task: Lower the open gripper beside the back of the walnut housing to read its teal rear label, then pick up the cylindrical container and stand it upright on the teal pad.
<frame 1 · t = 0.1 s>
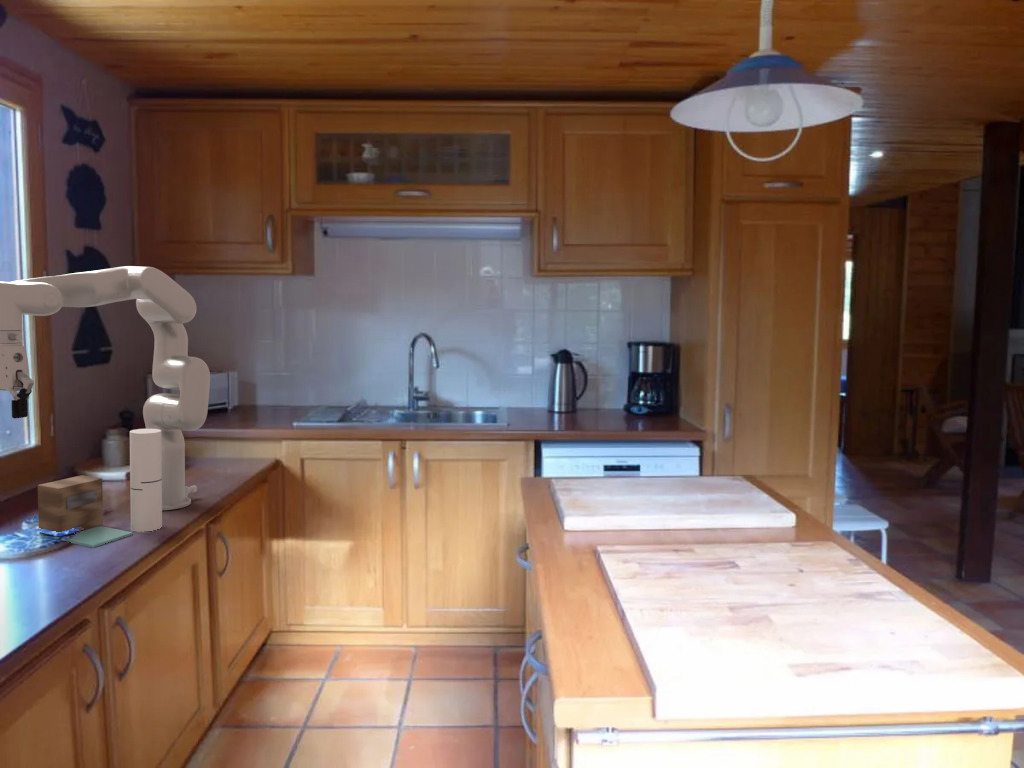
hand: (4, 415, 163), 31 cm above the counter, tool pointing down, fingers open, 9 cm apart
cylindrical container: (146, 528, 187), on the counter
walnut housing: (71, 528, 184), on the counter
teal pad: (96, 537, 179), on the counter
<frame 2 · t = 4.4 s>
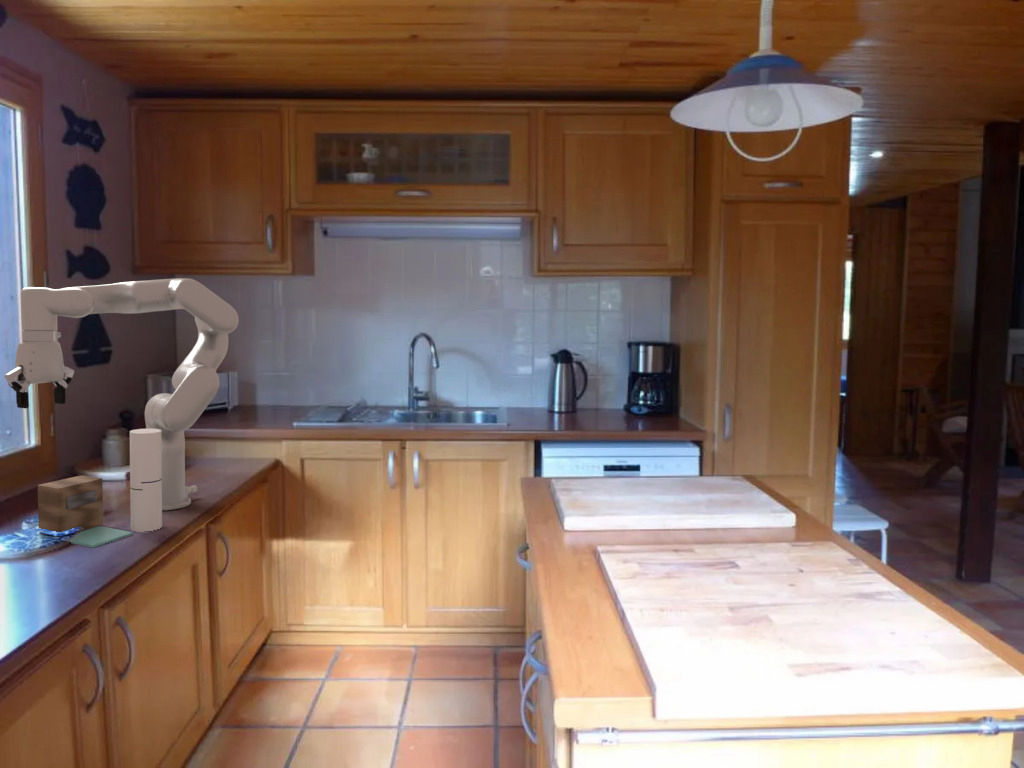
hand: (41, 405, 185), 30 cm above the counter, tool pointing down, fingers open, 9 cm apart
nothing on the counter moved.
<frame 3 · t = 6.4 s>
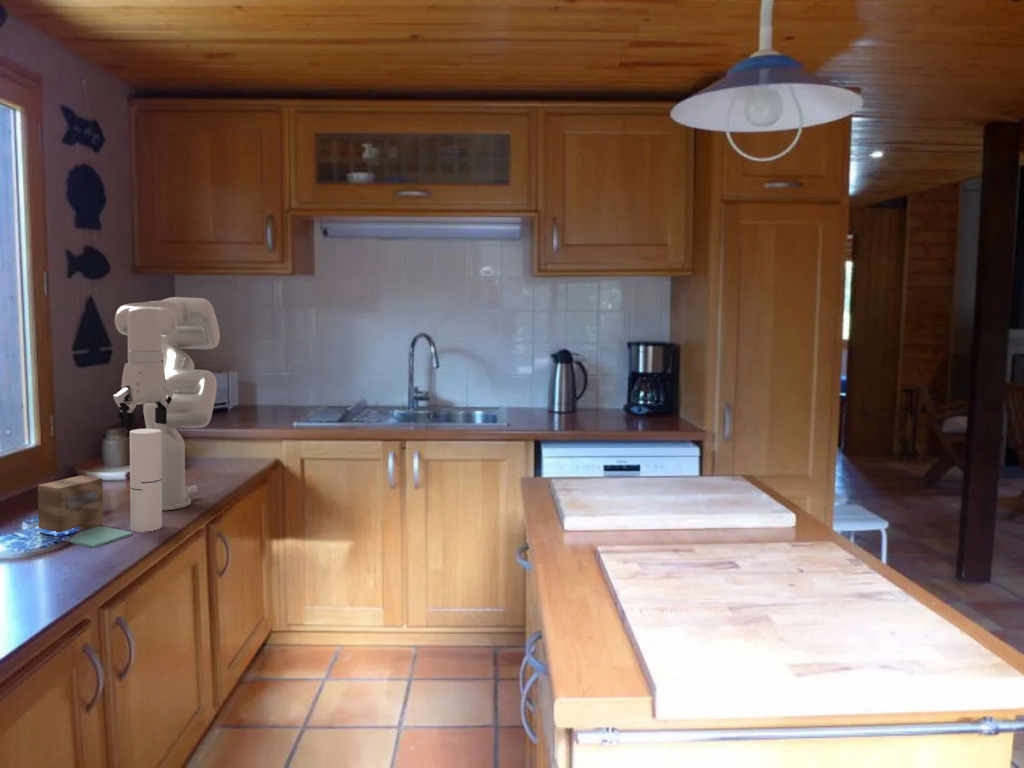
hand: (145, 425, 184), 26 cm above the counter, tool pointing down, fingers open, 9 cm apart
nothing on the counter moved.
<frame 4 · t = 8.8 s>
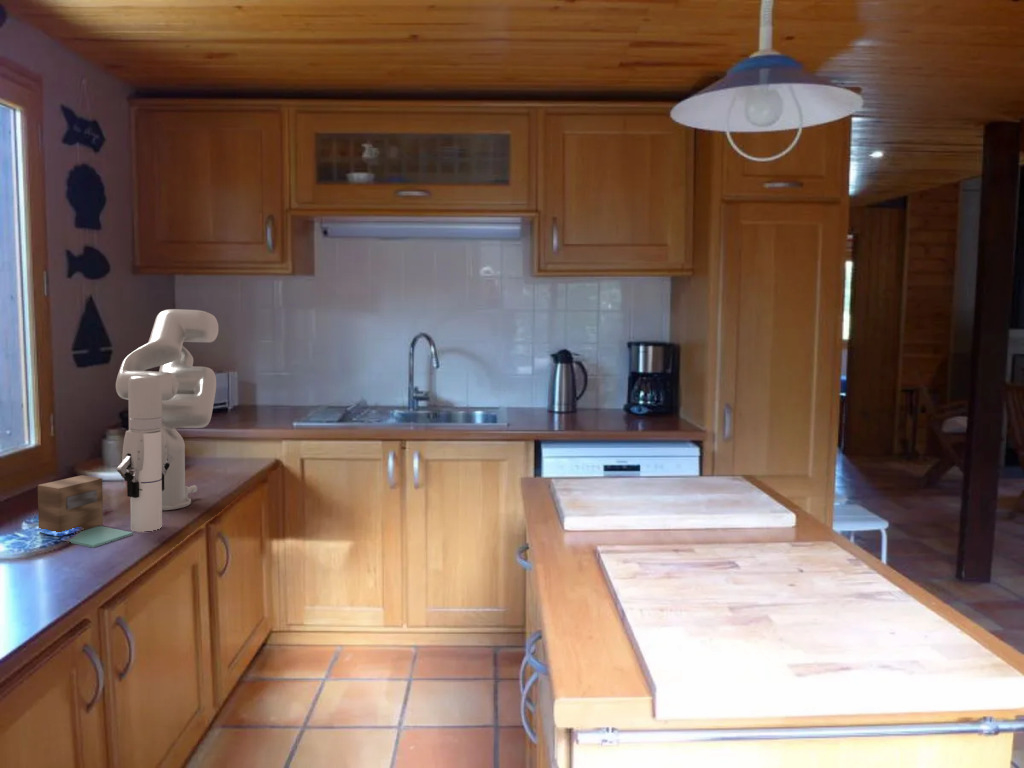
hand: (146, 492, 186), 9 cm above the counter, tool pointing down, fingers closed on cylindrical container, 7 cm apart
cylindrical container: (146, 528, 187), on the counter, touching gripper
everything else where it was.
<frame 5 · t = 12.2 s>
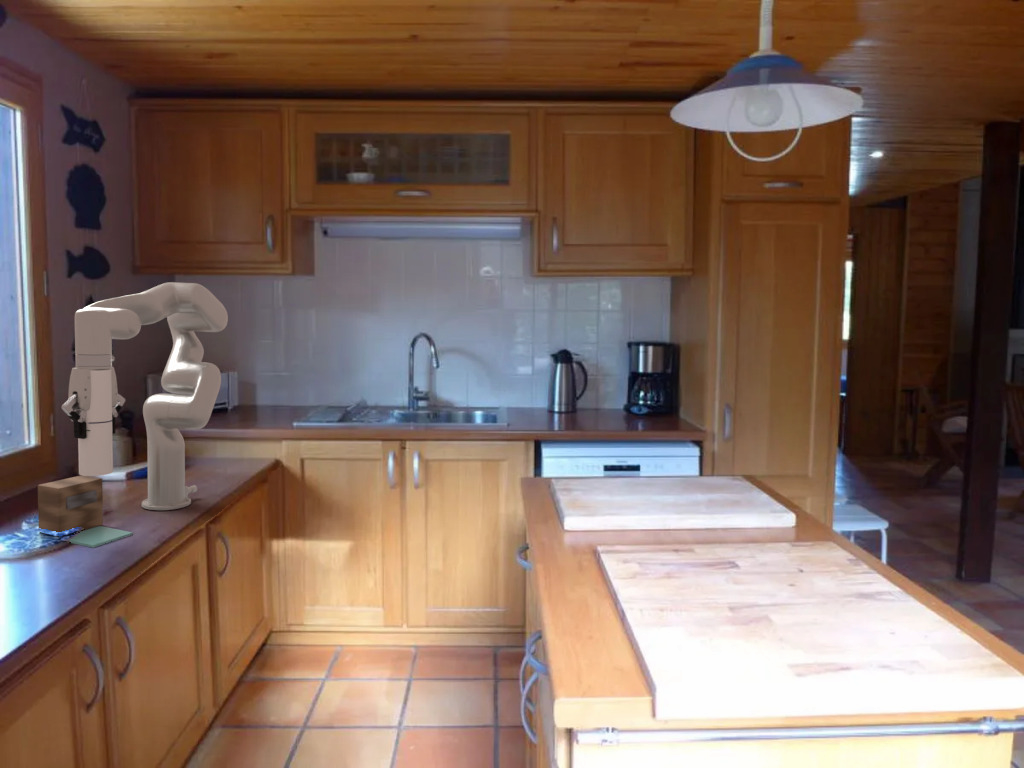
hand: (95, 435, 176), 25 cm above the counter, tool pointing down, fingers closed on cylindrical container, 7 cm apart
cylindrical container: (96, 473, 177), point 16 cm above the counter, touching gripper
everything else where it was.
when the fingers open (11 cm above the counter, at t = 16.0 s): cylindrical container stays where it is, resting on teal pad.
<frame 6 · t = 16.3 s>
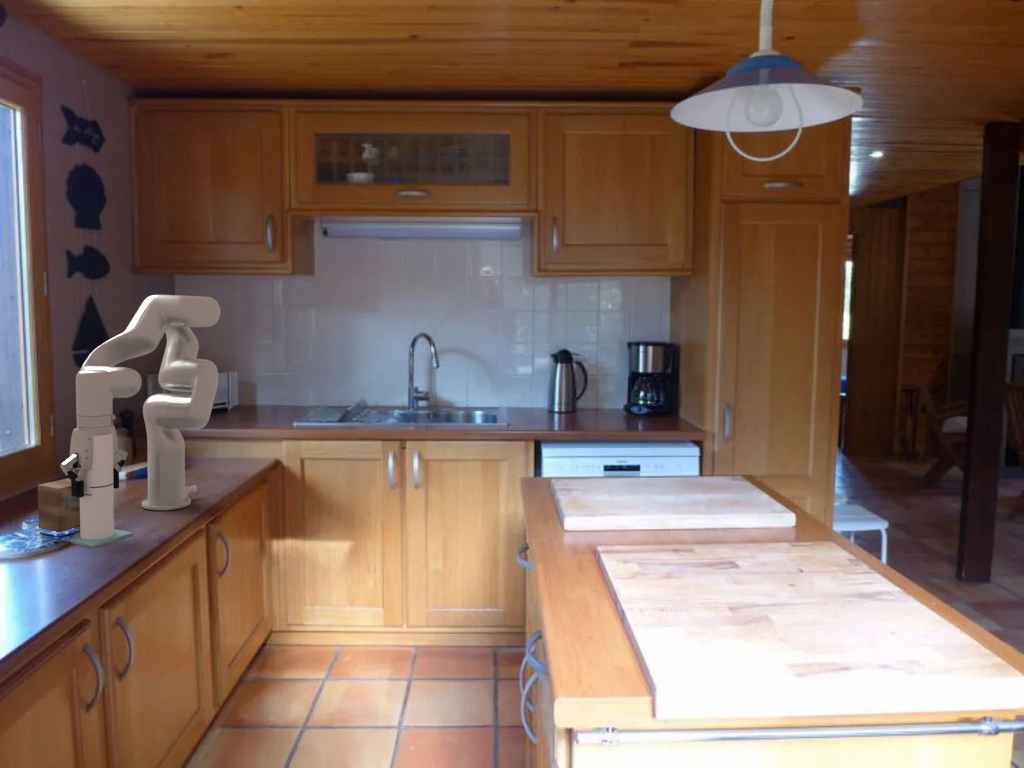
hand: (96, 492, 177), 11 cm above the counter, tool pointing down, fingers open, 9 cm apart
cylindrical container: (97, 535, 179), resting on teal pad
everything else where it was.
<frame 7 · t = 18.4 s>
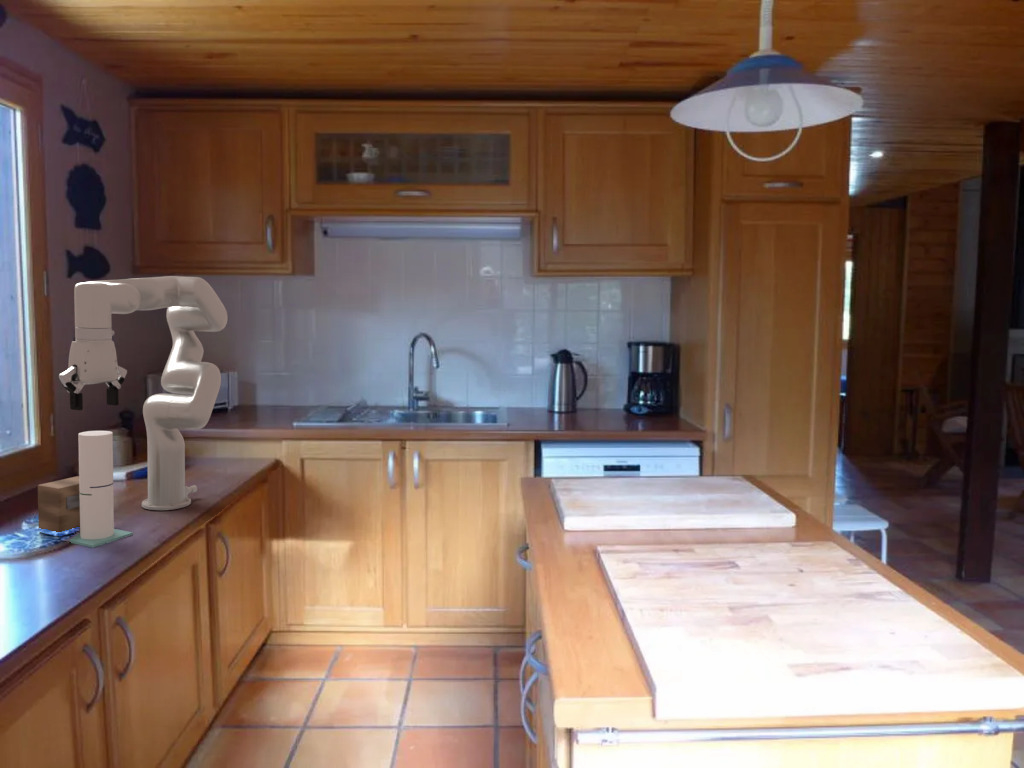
hand: (95, 407, 175), 32 cm above the counter, tool pointing down, fingers open, 9 cm apart
nothing on the counter moved.
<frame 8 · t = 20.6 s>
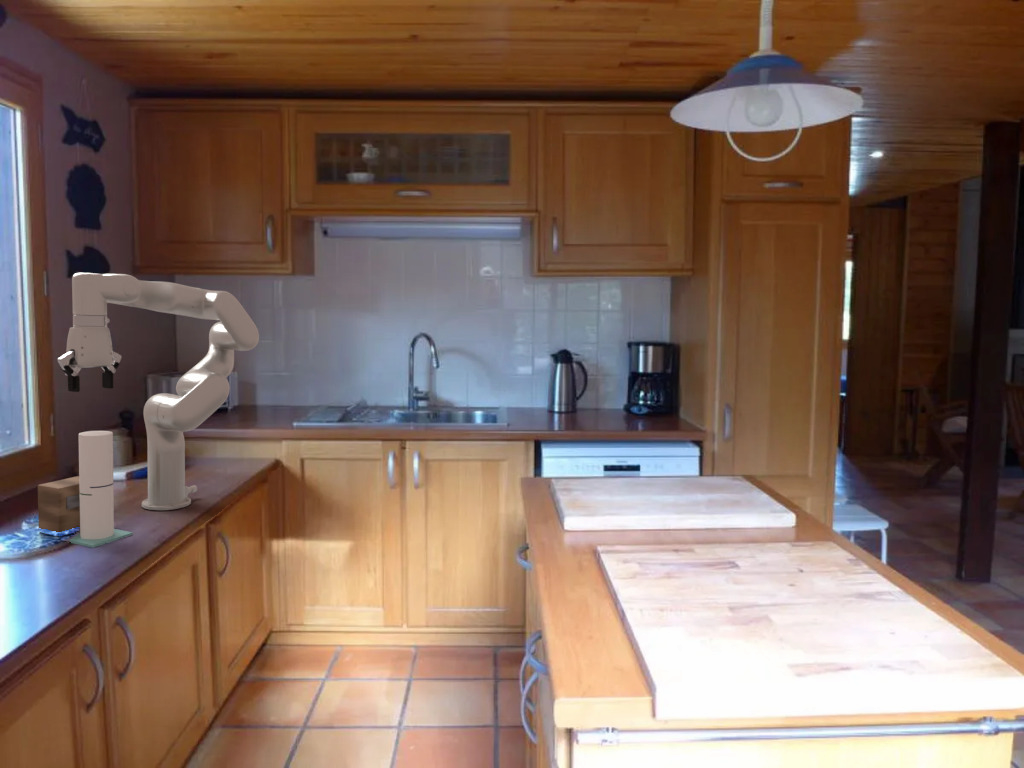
hand: (91, 389, 188), 34 cm above the counter, tool pointing down, fingers open, 9 cm apart
nothing on the counter moved.
at the end: cylindrical container 0.2 cm off-centre on the teal pad, point 0.4 cm above the teal pad's base; cylindrical container tilted 0°; the gripper is holding nothing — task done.
